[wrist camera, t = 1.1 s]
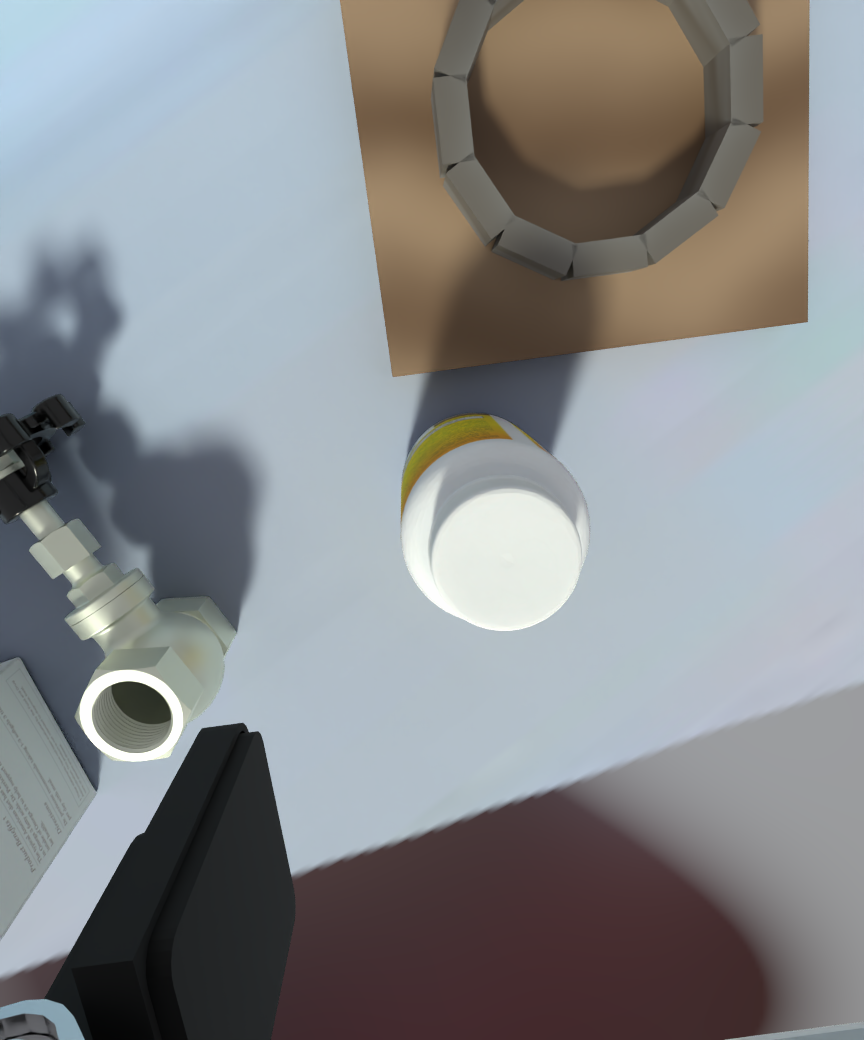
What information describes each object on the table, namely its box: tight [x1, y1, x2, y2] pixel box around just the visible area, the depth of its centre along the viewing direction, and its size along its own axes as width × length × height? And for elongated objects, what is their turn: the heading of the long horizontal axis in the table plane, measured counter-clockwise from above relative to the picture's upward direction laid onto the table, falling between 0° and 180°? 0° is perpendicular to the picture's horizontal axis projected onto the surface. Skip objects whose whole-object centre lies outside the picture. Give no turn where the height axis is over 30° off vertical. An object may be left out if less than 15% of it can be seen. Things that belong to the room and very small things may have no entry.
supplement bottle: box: [401, 413, 590, 631], centre depth 23 cm, size 6×6×10 cm
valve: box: [0, 394, 237, 761], centre depth 26 cm, size 7×7×12 cm
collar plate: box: [340, 0, 809, 377], centre depth 24 cm, size 15×15×4 cm
